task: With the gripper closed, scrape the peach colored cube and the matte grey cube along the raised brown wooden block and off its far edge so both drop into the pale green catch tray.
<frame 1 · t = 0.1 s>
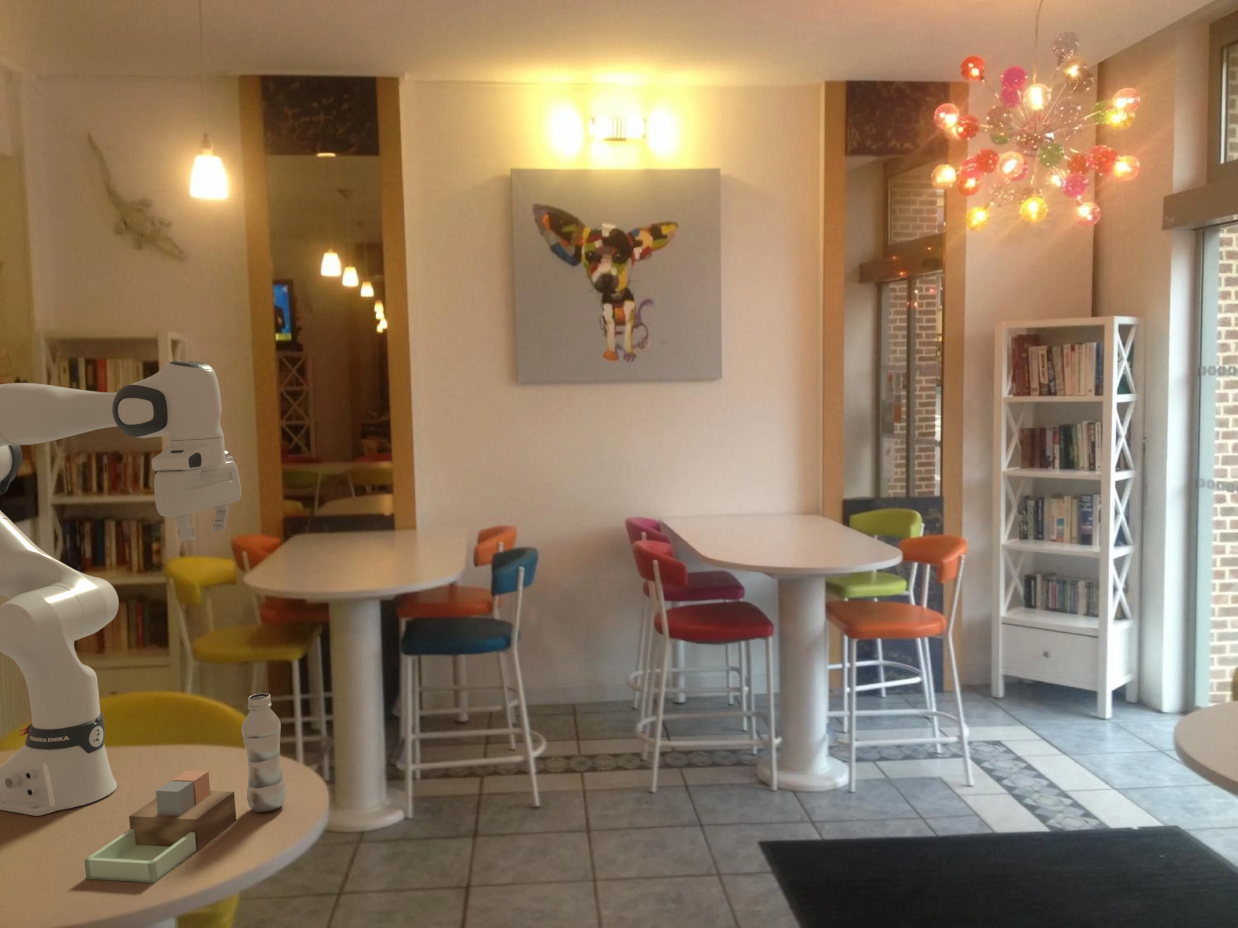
hand: (204, 534, 184), 48 cm above the table, fingers open, 8 cm apart
peach colored cube: (192, 798, 178), point 5 cm above the table, touching brown wooden block
catch tray: (142, 863, 165), on the table
brown wooden block: (185, 832, 176), on the table
plastic bottle: (267, 809, 185), on the table
matte grey cube: (176, 809, 173), point 5 cm above the table, touching brown wooden block
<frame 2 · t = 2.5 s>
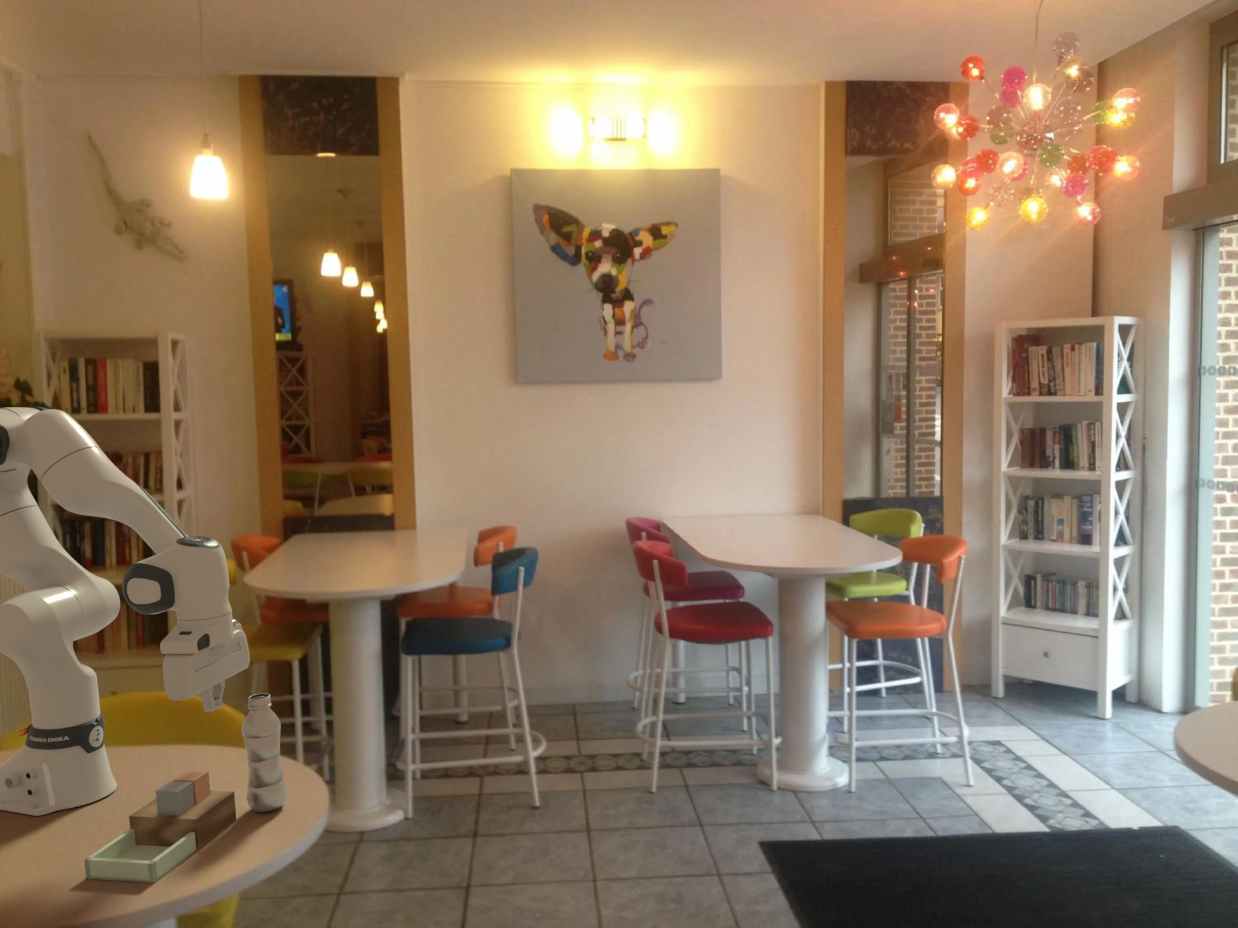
hand: (213, 709, 184), 18 cm above the table, fingers closed
nothing on the table moved.
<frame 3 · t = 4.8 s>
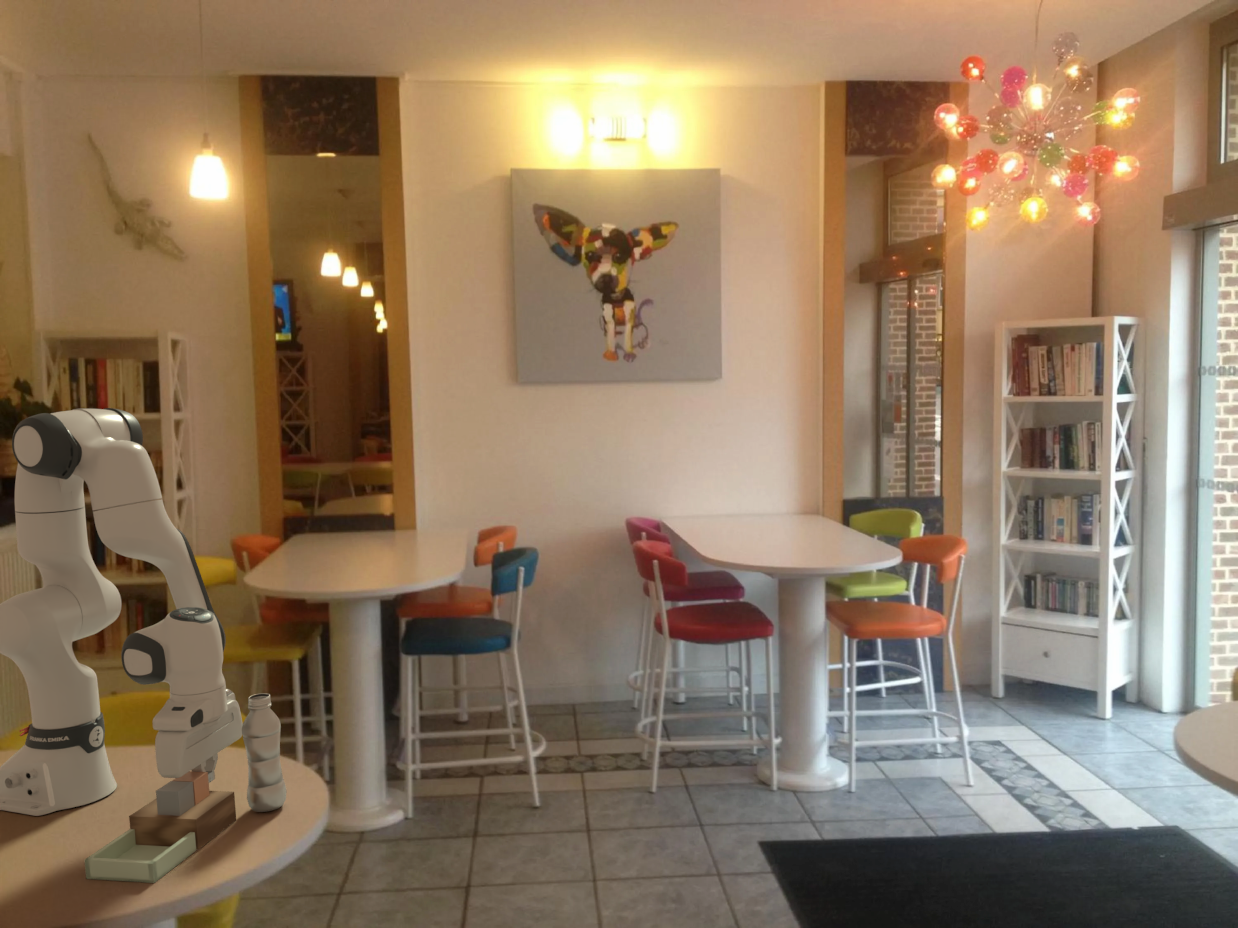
hand: (205, 783, 181), 6 cm above the table, fingers closed
peach colored cube: (192, 799, 177), point 5 cm above the table, touching gripper, brown wooden block
everything else where it was.
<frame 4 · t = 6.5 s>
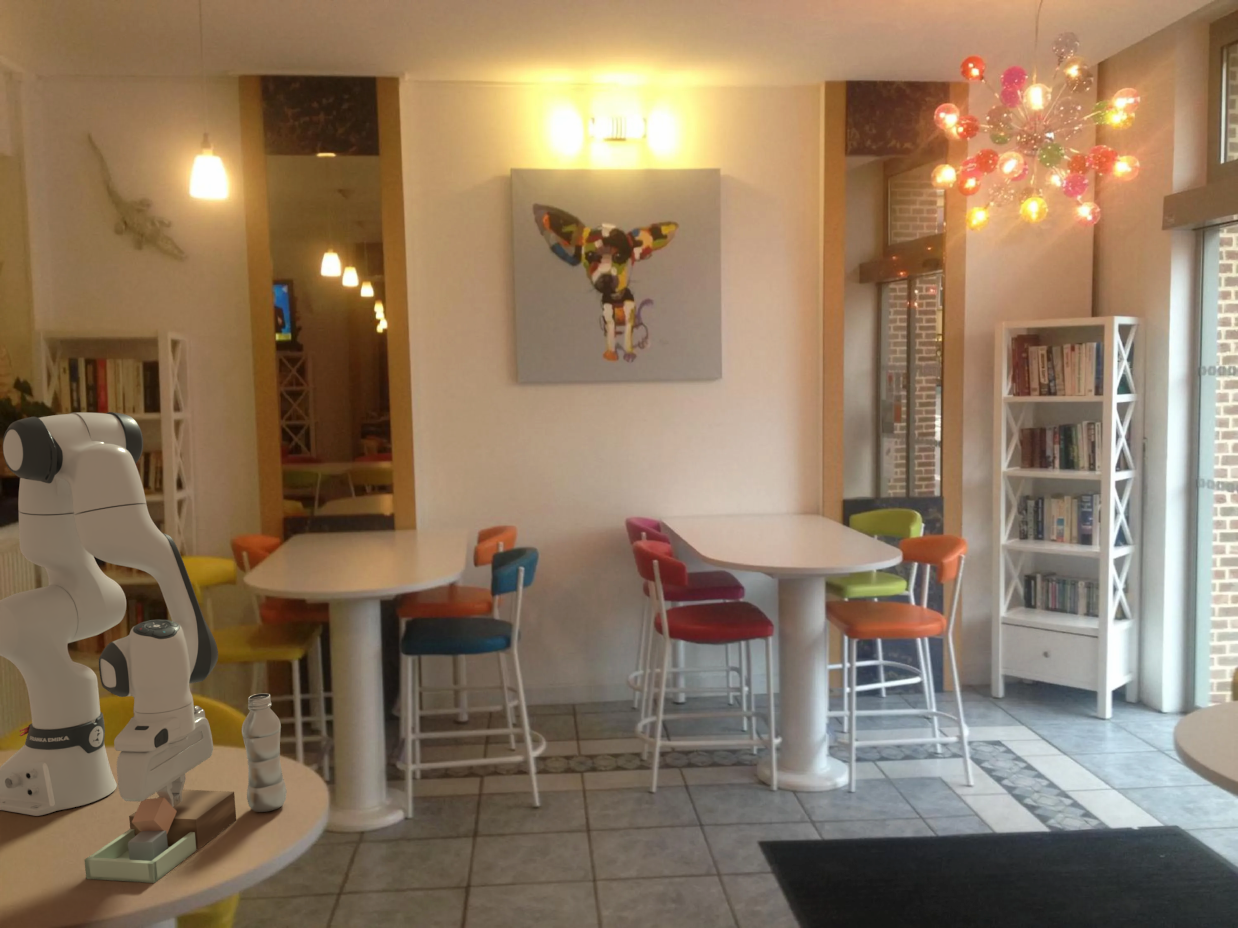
hand: (172, 805, 172), 6 cm above the table, fingers closed
peach colored cube: (161, 823, 169), point 5 cm above the table, tilted 36°, touching gripper, matte grey cube
matte grey cube: (155, 842, 167), point 2 cm above the table, tilted 90°, touching catch tray, peach colored cube
everything else where it was.
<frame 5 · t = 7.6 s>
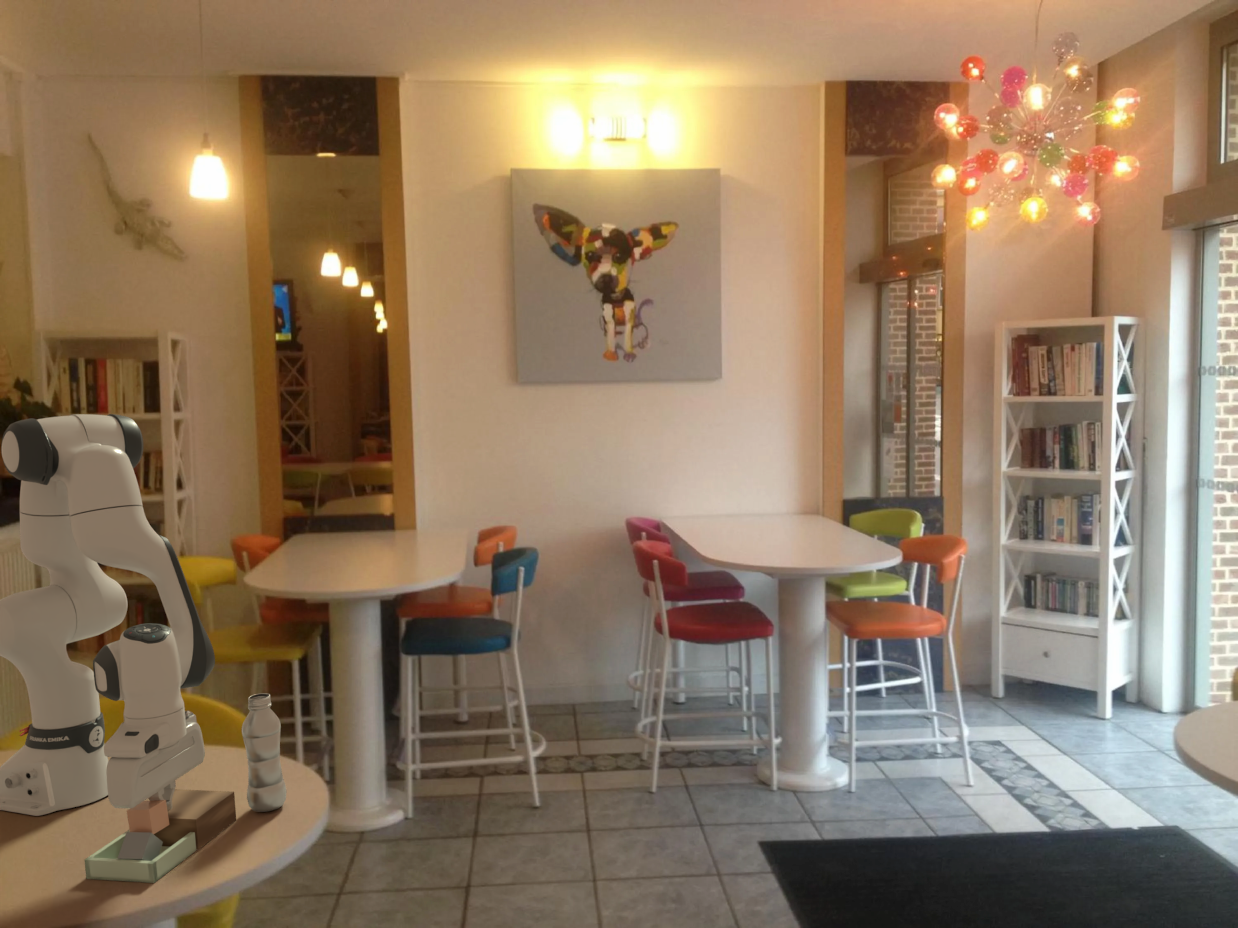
hand: (163, 812, 169), 6 cm above the table, fingers closed
peach colored cube: (150, 830, 166), point 5 cm above the table, tilted 6°, touching gripper, matte grey cube
matte grey cube: (145, 836, 164), point 5 cm above the table, tilted 135°, touching catch tray, peach colored cube
everything else where it was.
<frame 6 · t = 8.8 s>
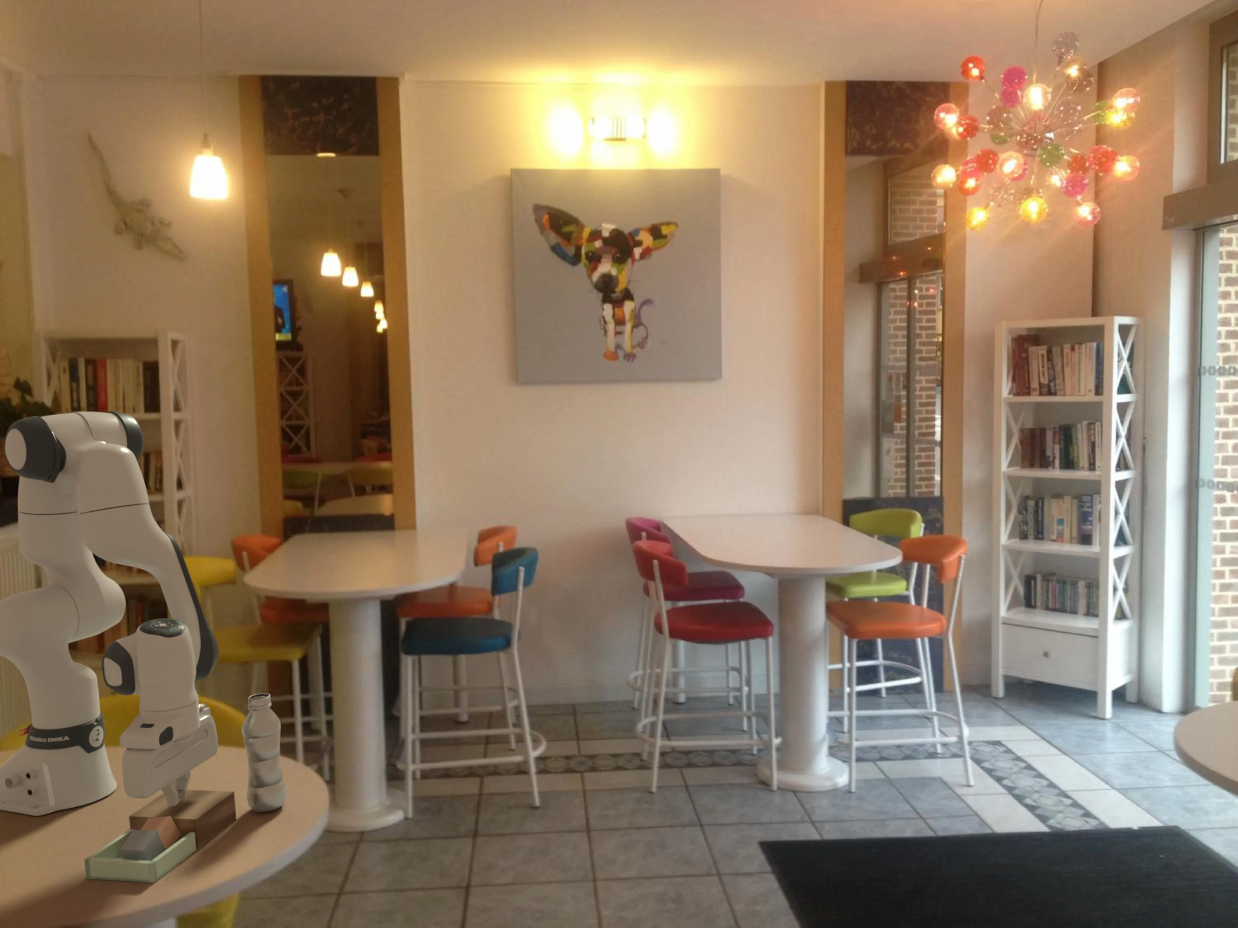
hand: (177, 802, 174), 6 cm above the table, fingers closed
peach colored cube: (152, 845, 166), point 2 cm above the table, tilted 68°, touching catch tray, matte grey cube, brown wooden block
matte grey cube: (149, 839, 165), point 4 cm above the table, tilted 112°, touching catch tray, peach colored cube
everything else where it was.
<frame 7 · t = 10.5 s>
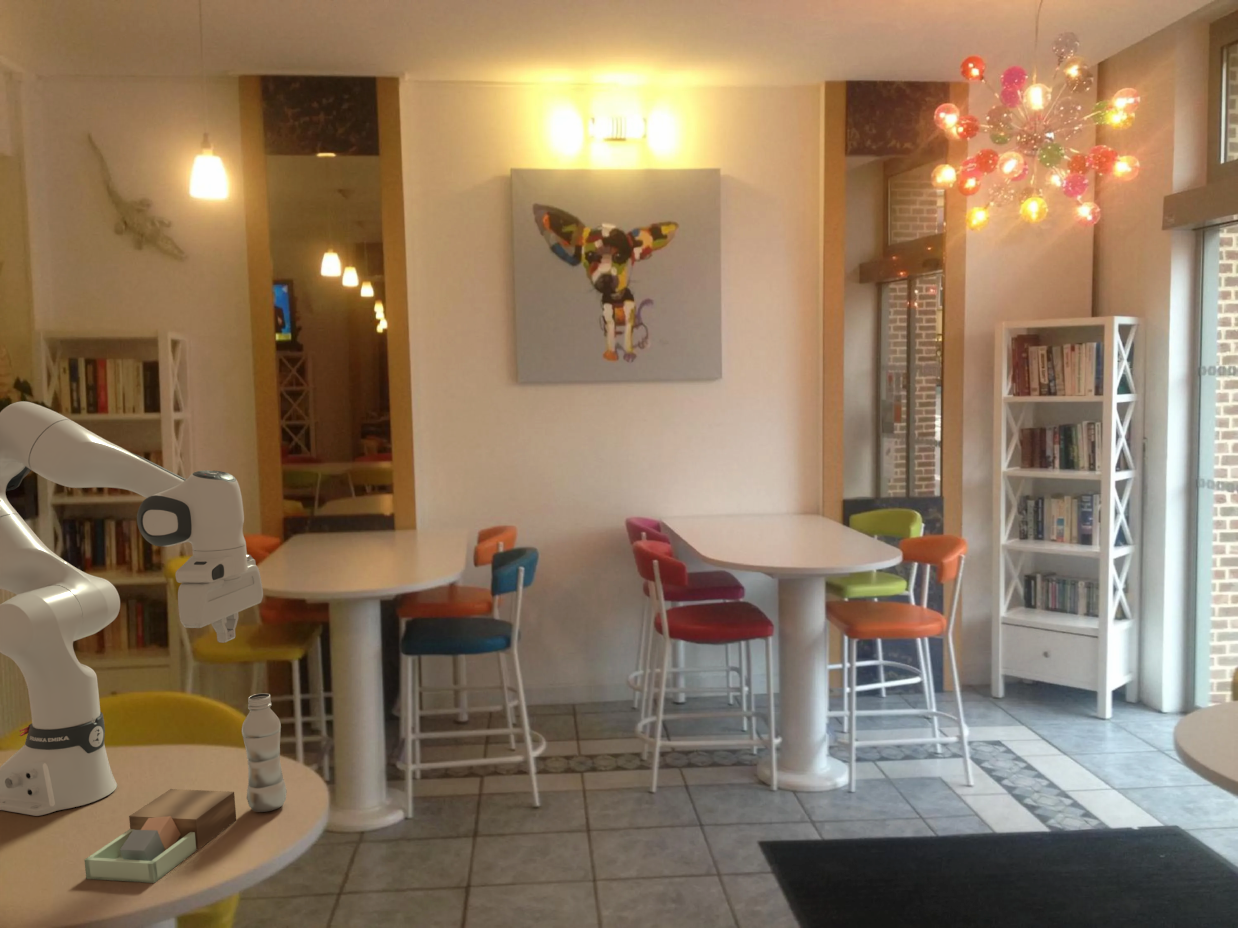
hand: (226, 640, 188), 29 cm above the table, fingers closed
nothing on the table moved.
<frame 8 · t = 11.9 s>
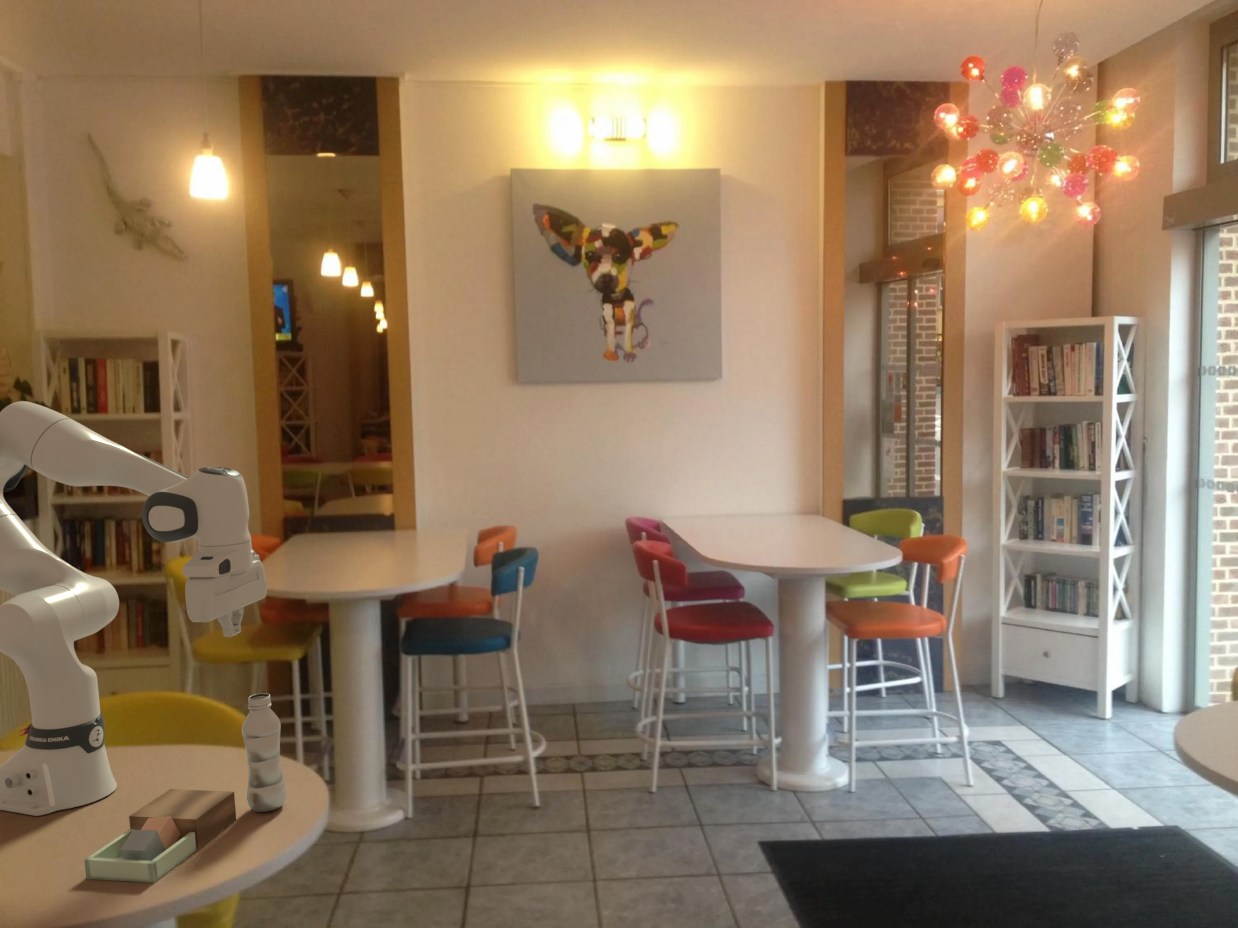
hand: (232, 635, 189), 29 cm above the table, fingers closed
nothing on the table moved.
at the end: peach colored cube inside the target area on the catch tray (1.6 cm from its centre), point 2.5 cm above the catch tray's base; matte grey cube inside the target area on the catch tray (1.2 cm from its centre), point 3.7 cm above the catch tray's base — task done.
